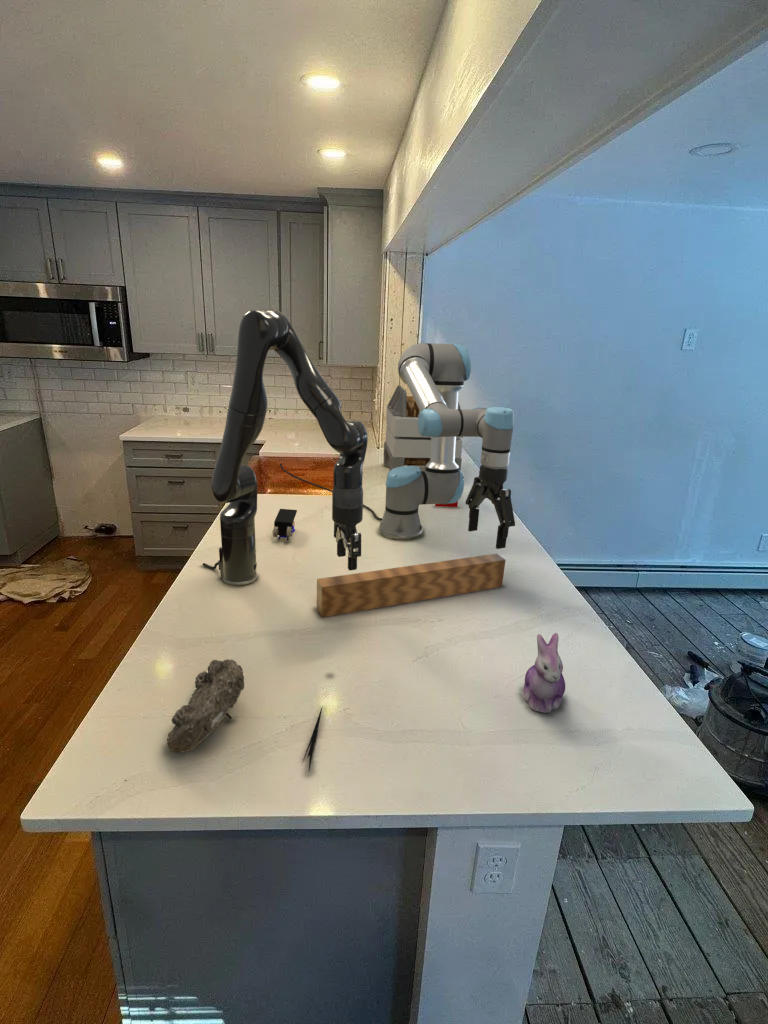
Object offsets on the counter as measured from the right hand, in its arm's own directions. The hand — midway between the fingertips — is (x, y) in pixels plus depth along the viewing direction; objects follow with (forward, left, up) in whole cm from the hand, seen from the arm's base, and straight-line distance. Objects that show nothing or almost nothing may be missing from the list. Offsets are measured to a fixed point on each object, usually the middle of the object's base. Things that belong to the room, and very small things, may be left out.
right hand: (486, 539), depth 160 cm
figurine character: (-64, -26, -15) cm, 71 cm away
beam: (-7, -20, -15) cm, 26 cm away
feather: (+18, -69, -15) cm, 73 cm away
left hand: (-13, -39, -2) cm, 41 cm away
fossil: (+5, -85, -15) cm, 86 cm away
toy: (-64, +51, -15) cm, 83 cm away
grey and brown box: (-96, +68, -15) cm, 119 cm away
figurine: (+42, -29, -15) cm, 53 cm away
